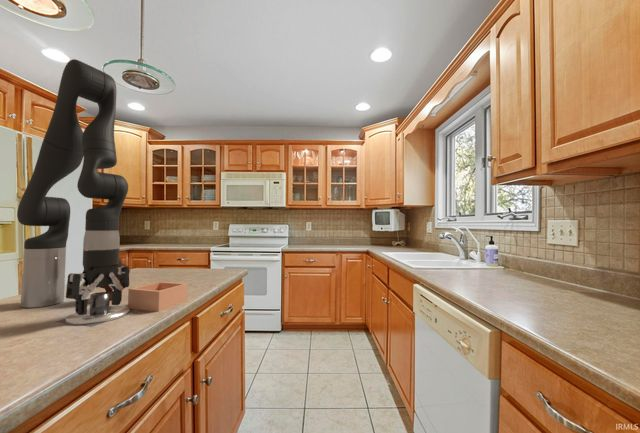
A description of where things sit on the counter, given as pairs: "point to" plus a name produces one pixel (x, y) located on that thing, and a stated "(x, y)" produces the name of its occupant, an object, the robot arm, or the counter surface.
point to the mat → (96, 323)
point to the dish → (157, 296)
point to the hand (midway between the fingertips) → (99, 309)
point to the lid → (98, 311)
